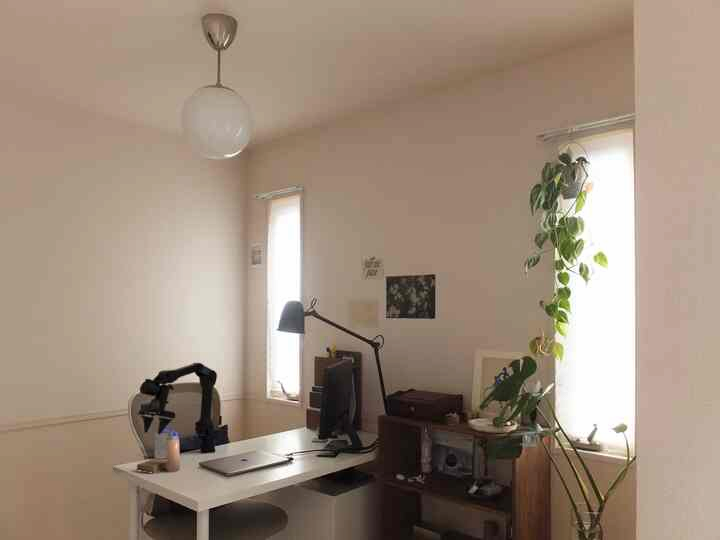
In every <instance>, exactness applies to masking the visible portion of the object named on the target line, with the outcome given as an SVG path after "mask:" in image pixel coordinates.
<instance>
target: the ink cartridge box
mask: <svg viewBox="0 0 720 540" xmlns="http://www.w3.org/2000/svg"><path fill="white" fill-rule="evenodd" d="M169 439H179V430H172V425H167V426H166V427H165V429H164V430H163V431H162V432H161V434H158V431H157V432H154V459H164V458H167V440H169ZM163 457H164V458H163Z"/></svg>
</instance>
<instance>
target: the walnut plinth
mask: <svg viewBox="0 0 720 540" xmlns="http://www.w3.org/2000/svg"><path fill="white" fill-rule="evenodd" d="M165 469H166V470H168V462H167V459H163V458H152V459H150V460H147V461H144V462H141V463H137V465H136V471H137V470H141V471H146V472H152V473H151V474H153V473H154V474H156V473H155V472H157V473H159V472H158V471H160V472H162V470H163V471H165Z"/></svg>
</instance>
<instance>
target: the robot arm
mask: <svg viewBox="0 0 720 540" xmlns="http://www.w3.org/2000/svg"><path fill="white" fill-rule="evenodd" d="M194 373H195V376H197V377H198V379H199V385H200V386H201V400H200V401H201V402H200V403H201V405H200V417H199V420H197V421H195V428H194V431H195V434H196V435H197V438H198V440H201V441H200V444H199V446H200V447H199V450H200V453H201V454H207V453H208V454H209V453H215V452H216V440H217V439H218V438H219V433H218V431H216V430H215V429H214V427H215V425H214V422H213V419H212V401H213V400H212V399H213V389H214V386H215V384H216V383H217V379H218V373H217V372H216V370H213V369H211V368H209V367H208V366H206V365H204V364H203V363H202V362H193V363H191V364H189V365H186V366H185V365H184V366H181V367H179V368H176V369H167V370H166V369H165V370H160V371H159V372H158V374H157V376H155V378H154V377H153V379H150V378H145V379H144V380H145V381H144V382H142V384H141V385H140V387H139V391H140V394H141V395H146V396H149V397H150V396H151V397H154V398H151V399H150V402H145V403H141V404H140V409H139V411H138V415H139V417H140V418H141V419H142V420H143V432H144V433H145V434H146V433H148V431H149V430H150V428H151V425H152V424H153V421H154V420H155V417H158V420H159V425H158V428H157V429H158V430H157V432H158V434H161V432H162V431H163V430H164V429H166V428H165V427H166V426H169V424H170V423H171V422H172V421H173V420H174V419H176V412H174V411H171V410H170V411H169V410H166V406H167V405H169V401H168V398H169V396H170V395H169V394H170V391H174V390H175V388H174V386H173V385H172V384H173V383H174V382H177V380H179V379H180V378H182V377H185V376H188V375H191V374H194ZM154 416H155V417H154Z"/></svg>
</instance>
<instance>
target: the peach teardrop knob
mask: <svg viewBox="0 0 720 540" xmlns="http://www.w3.org/2000/svg"><path fill="white" fill-rule="evenodd" d="M166 460H167V462H168V469H167V472H168V473H176V472H179V471H180V470H181V469H180V467H181V465H180V464H181V463H180V438H178V439H169V440H167V459H166Z"/></svg>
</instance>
